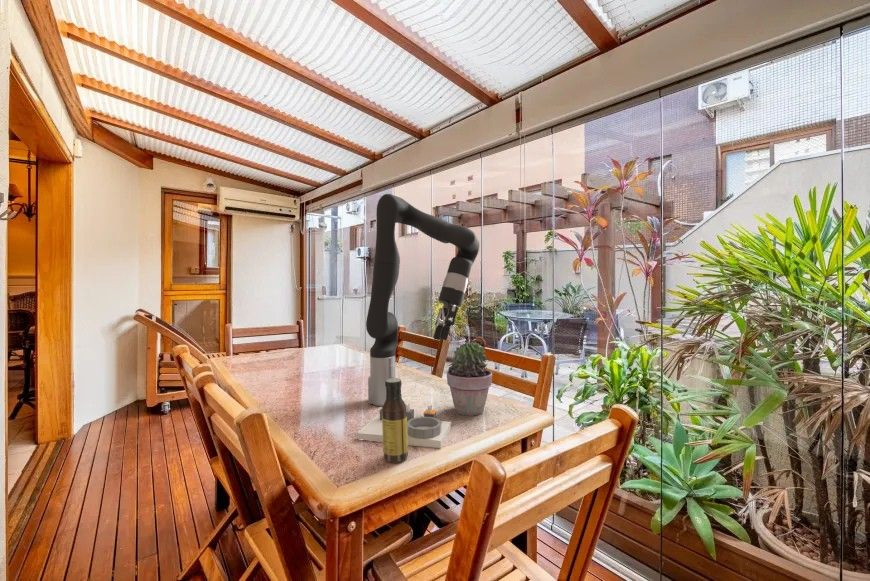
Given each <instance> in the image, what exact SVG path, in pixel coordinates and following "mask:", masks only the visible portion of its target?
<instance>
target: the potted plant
mask: <svg viewBox="0 0 870 581" xmlns="http://www.w3.org/2000/svg"><path fill="white" fill-rule="evenodd" d="M459 345H460V346H456V347H455V348H456V349H455V350H453V353H454V355H453V357H451V359H450V360H451V361H452V363H450V364H449V365H448V369H447V371H446V372H445V373H446V384H447V385H448V387H449V389H450V394H451V398H452V402H453V407H454V410H455V413H456V414H458V413H459V415H461V414H462V415H463V416H467V415H473V416H478V415H482V413H484V412H485V408H486V403H487V397H488V393H489V389H490V387H492V382H493V371H490V370H488V367H487V366H488V363H486V362H487V360H488V362H489V363H491V361H490V360H489V359H488V358H487V356H488V354H487V355H486V354H484V353H485V350H484V349H485V348H486V347H487V342H486V340H485V339H484V338H483V337H482V336H480V335H479V336H476V337H475V339H474V340H473V341H469V339H468V340H467V341H465V343H463V344H459ZM462 415H461V416H462Z"/></svg>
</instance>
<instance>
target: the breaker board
mask: <svg viewBox="0 0 870 581" xmlns="http://www.w3.org/2000/svg"><path fill="white" fill-rule="evenodd" d="M383 404H384V403H383ZM405 404H406V414H407V435H408V446H415V447H422V448H423V447H425V448H433V449H442V447H443V445H444V443H445V442H446V439H447V437H448V435H449V433H450V432H451V429H452V422H451V421H443V420H440V419H439V418H437V409H433V404H429V403H428V405H427V408H426V409H425V410H424V412H423V416H417V417H415V410H414V409H413V408H411V404H410V403H405ZM356 438H357V439H363V440H369V441H368V442H372V441H377V442H376V443H382V442H383V430H382V408H380V410H379V415H375V417H373V418H372V419H371V420H370V421H369V422H368V423H367V424H365V425H364V426H363V427H362V428H361V429H360V430H359V431H358V432H357V436H356Z"/></svg>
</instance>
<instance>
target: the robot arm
mask: <svg viewBox="0 0 870 581" xmlns="http://www.w3.org/2000/svg"><path fill="white" fill-rule="evenodd" d="M375 217H376V235H375V236H376V238H375V239H376V240H375V250H374V259H373V260H374V261H373V270H372V283H371V293H370V299H369V300H370V301H369V306H368V310H367V316H366V322H365V328H366V332H367V334H368V335H369V337H371V338H373V339H374V343H373V345H372V347H370V349H369V357H370V358H369V368H370V371H369V373H370V375H369V377H368V379H367V386H368V388H367V391H368V392H367V397H368V398H367V401H368V402H367V403H369V404H370V405H372V404H373V406H376V407H377V406H379V407H383V403H384V402H385V401H386V386H385V381H386V380H387V379H390V378H397V377H396V374H397V373H396V370H397V369H396V350H397V348H398V339H399V338H398V337H399V336H398V335H399V334H398V333H399V324H398V319H397V317H396V315H395V314H394V313H393V312H391V311H389V304H390V299H391V297H392V294H393V291H394V290H395V288H396V285H397V282H398V279H399V276H400V267H401V266H400V265H401V258H400V253H399V249H398V246H397V245H398V244H397V241H396V235H395V231H396V230H395V229H396V224H397V223H398V224H402V225H406V226H410V227H412V228H415V229H416V230H418V231H419V232H421V233H423V234H424V235H427V236H428V237H429V238H431V239H434V240H436V241H438V242H440V243H442V244H451V245H454V246H455V247H457V249H458V250H457V253H456V256H454V257H452V259H450V262H449V265H448V268H447V271H446V275H445V277H444V280H443V283H442V286H441V288H440V293H439V297H438V301H439V303H441V304H443V306H442V308H441V307H440V308H439V310H438V312H437V317H436V319H435V323H434V326H435V329H434V334H433V339H434V340H437V341H440V340H444V341H447V339H448V337H449V334H450V329H451V328H452V327H453V326H454V325H455V322H456V321H455V319H456V317H457V314H458V309H459V308H461V307H462V305H463V301H464V299H465V295H466V291H467V287H468V282H469V281H468V280H469V277H470V274H471V269H472V266H473V265H474V262H475V261H476V258H477V256H478V254H479V251H480V241H479V238H478V237H477V236H476V233H475V232H474V231H473V229H471V228H469V227H467V226H464V225H460V224H456V223H455V224H454V223H452V222H449V221H446V220H444V219H442V218H440V217H437V216H434V215H432V214H428V213H426V212H424V211H422V210H420V209H418V208H416V206H415V207H414V206H413V205H412V204H411V203H409V202H407V200H405V199H404V198H402V197H399V196H397V195H395V194H391V193H385V194H383V195H381V196H380V198H379V200H378V201H377V205H376V216H375ZM369 404H368V405H369Z"/></svg>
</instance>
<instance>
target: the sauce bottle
mask: <svg viewBox="0 0 870 581" xmlns="http://www.w3.org/2000/svg"><path fill="white" fill-rule="evenodd" d="M385 386H386V401H385V402H384V404H383V406H381V407H382V408H381V409H382V430H383V443H382V451H383V459H384V461H386V463H387V462H388V463H390V464H391V463H392V464H397V463H398V462H399V463H402V462H405V460H407V459H408V456H409V453H408V451H409V445H408V435H407V414H406V404H407V403H406V402H405V401H404V399H403V397H402V396H403V395H402V379H401V378H398V377H396V378H390V379H387V380H386V381H385Z"/></svg>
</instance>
